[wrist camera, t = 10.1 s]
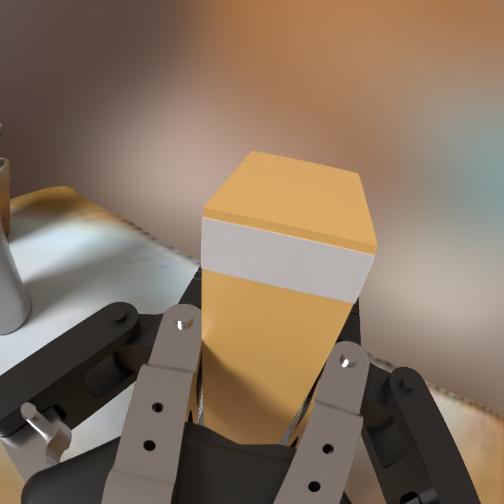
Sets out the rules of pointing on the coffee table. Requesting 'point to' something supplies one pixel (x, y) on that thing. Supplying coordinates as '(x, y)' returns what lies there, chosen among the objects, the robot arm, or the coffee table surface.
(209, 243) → the block
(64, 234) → the coffee table surface
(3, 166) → the potted plant
